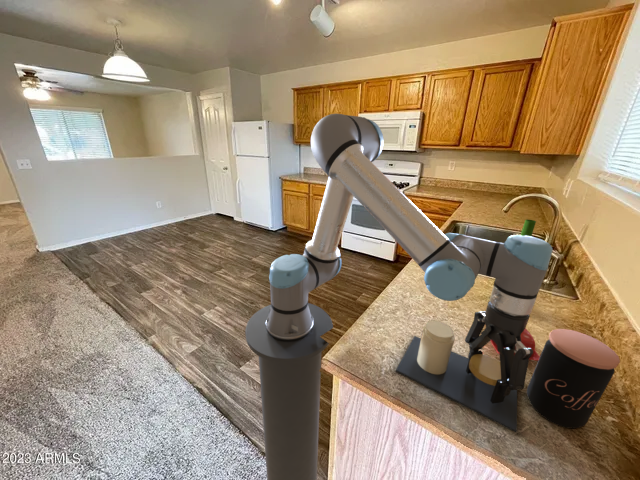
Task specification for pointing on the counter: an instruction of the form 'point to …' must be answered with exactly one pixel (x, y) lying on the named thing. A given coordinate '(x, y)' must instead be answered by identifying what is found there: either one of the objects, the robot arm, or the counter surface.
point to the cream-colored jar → (435, 347)
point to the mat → (461, 386)
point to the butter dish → (526, 341)
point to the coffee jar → (570, 377)
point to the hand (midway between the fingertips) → (483, 385)
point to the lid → (485, 368)
